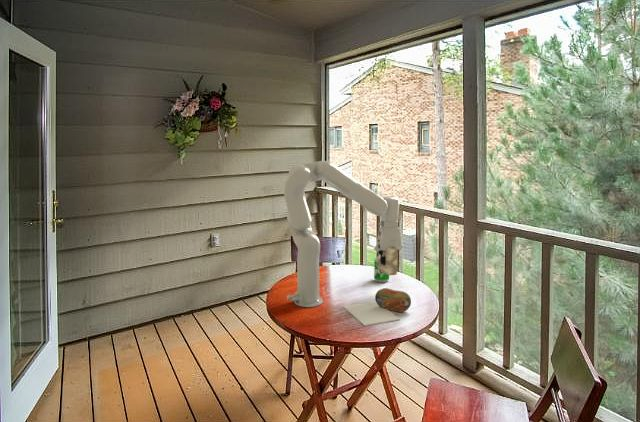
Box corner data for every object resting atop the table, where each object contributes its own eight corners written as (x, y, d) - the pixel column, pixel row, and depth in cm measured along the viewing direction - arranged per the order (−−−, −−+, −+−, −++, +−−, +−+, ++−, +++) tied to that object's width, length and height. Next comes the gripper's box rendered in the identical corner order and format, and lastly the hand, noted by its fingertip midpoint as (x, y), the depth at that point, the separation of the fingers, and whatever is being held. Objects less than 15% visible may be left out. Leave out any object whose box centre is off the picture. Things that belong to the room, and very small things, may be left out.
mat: (364, 326, 168) (364, 324, 168) (343, 307, 187) (343, 306, 187) (399, 320, 174) (399, 318, 174) (375, 302, 192) (375, 301, 192)
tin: (374, 306, 186) (375, 287, 185) (376, 304, 189) (378, 285, 187) (408, 314, 179) (410, 294, 178) (410, 312, 182) (412, 292, 180)
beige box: (388, 275, 194) (390, 249, 192) (377, 269, 203) (379, 243, 201) (396, 274, 195) (398, 248, 193) (385, 268, 204) (386, 243, 202)
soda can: (373, 278, 225) (373, 255, 223) (388, 278, 225) (388, 255, 222) (374, 283, 217) (375, 259, 215) (390, 283, 217) (390, 259, 215)
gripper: (376, 226, 189) (374, 267, 192) (410, 225, 195) (407, 264, 198) (369, 223, 196) (367, 263, 199) (401, 222, 202) (399, 260, 205)
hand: (387, 263), depth 198 cm, fingers closed on beige box, 4 cm apart
